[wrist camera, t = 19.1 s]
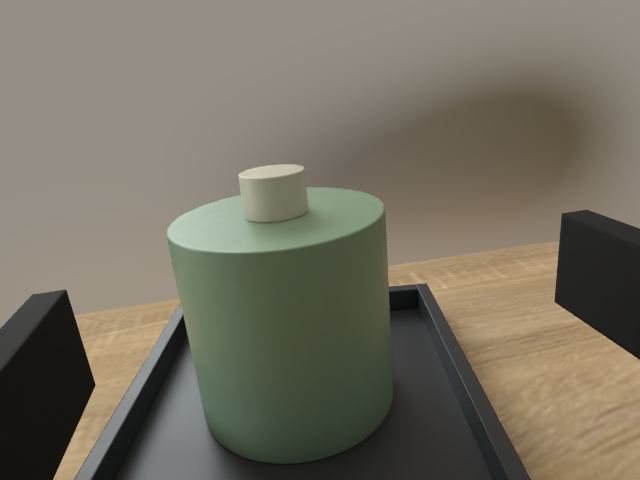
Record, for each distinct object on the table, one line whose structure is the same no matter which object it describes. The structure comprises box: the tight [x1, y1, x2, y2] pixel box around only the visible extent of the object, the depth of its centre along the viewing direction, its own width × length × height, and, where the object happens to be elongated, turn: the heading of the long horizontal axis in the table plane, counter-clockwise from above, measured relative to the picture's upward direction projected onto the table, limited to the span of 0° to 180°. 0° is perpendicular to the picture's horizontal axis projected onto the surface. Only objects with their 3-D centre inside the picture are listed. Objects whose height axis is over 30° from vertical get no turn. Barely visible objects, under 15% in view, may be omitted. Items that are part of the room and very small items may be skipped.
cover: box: [166, 164, 393, 464], centre depth 23 cm, size 10×10×12 cm
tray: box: [74, 284, 531, 480], centre depth 25 cm, size 18×18×2 cm
